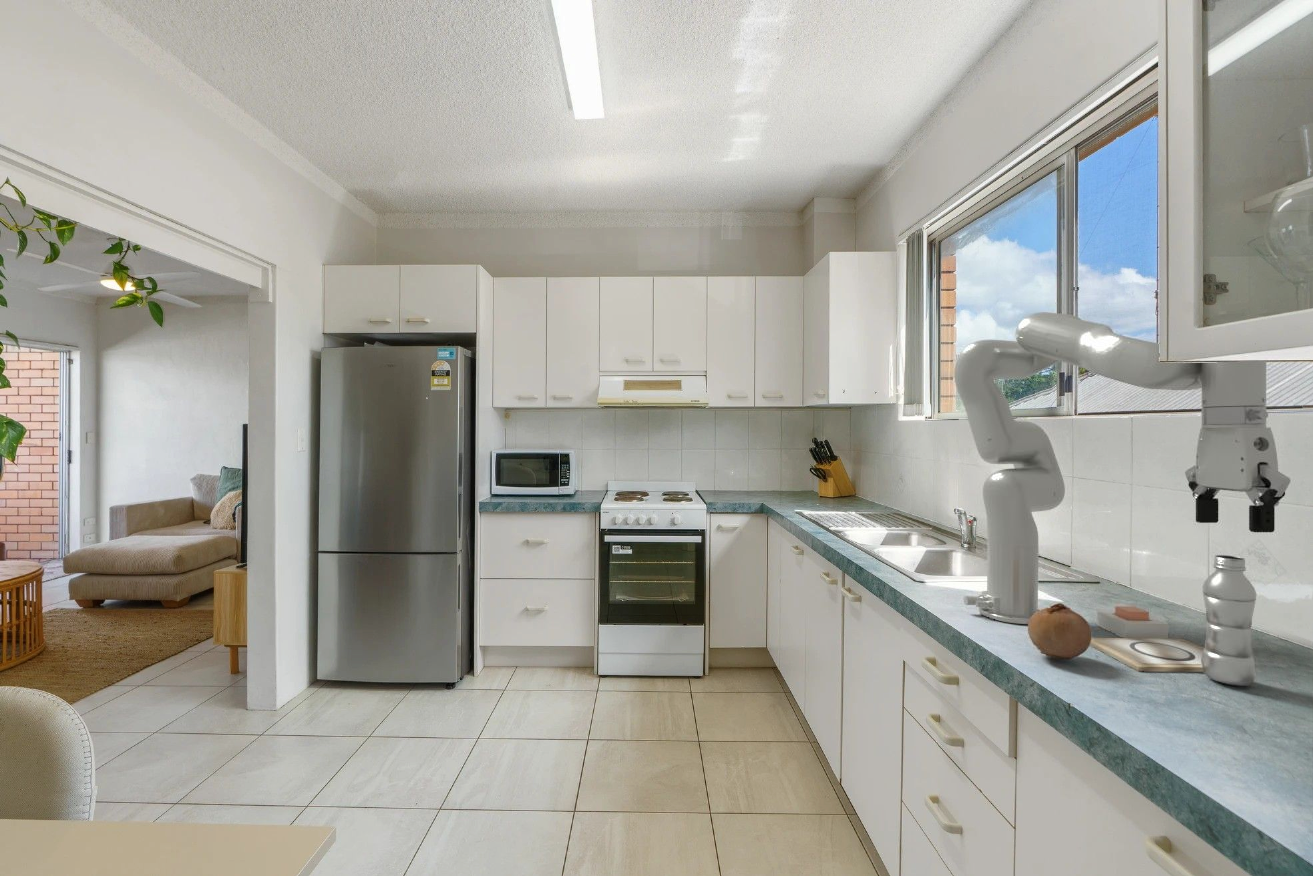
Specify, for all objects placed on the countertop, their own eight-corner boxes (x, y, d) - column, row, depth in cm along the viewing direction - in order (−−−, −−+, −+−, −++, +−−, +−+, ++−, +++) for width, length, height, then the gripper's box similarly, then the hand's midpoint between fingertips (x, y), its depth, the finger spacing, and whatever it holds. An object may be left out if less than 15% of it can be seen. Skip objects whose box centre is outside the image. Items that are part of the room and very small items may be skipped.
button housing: (1125, 638, 120) (1125, 623, 120) (1097, 625, 128) (1097, 610, 128) (1168, 639, 119) (1168, 623, 119) (1137, 625, 127) (1137, 611, 127)
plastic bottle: (1215, 688, 97) (1217, 560, 97) (1192, 671, 104) (1193, 552, 103) (1266, 693, 96) (1268, 563, 95) (1239, 676, 102) (1241, 554, 102)
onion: (1069, 674, 103) (1070, 613, 103) (1015, 655, 112) (1016, 599, 111) (1103, 664, 107) (1104, 606, 107) (1049, 646, 116) (1049, 593, 115)
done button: (1128, 626, 122) (1128, 611, 122) (1115, 620, 125) (1115, 606, 125) (1148, 626, 122) (1148, 612, 122) (1134, 620, 125) (1134, 606, 125)
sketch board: (1138, 671, 104) (1138, 665, 104) (1083, 642, 118) (1084, 636, 118) (1250, 672, 103) (1250, 666, 103) (1182, 643, 117) (1182, 637, 117)
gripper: (1313, 417, 90) (1313, 536, 90) (1210, 419, 107) (1211, 519, 107) (1259, 417, 90) (1259, 536, 90) (1165, 420, 107) (1166, 519, 108)
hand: (1233, 527), depth 99 cm, fingers open, 9 cm apart
